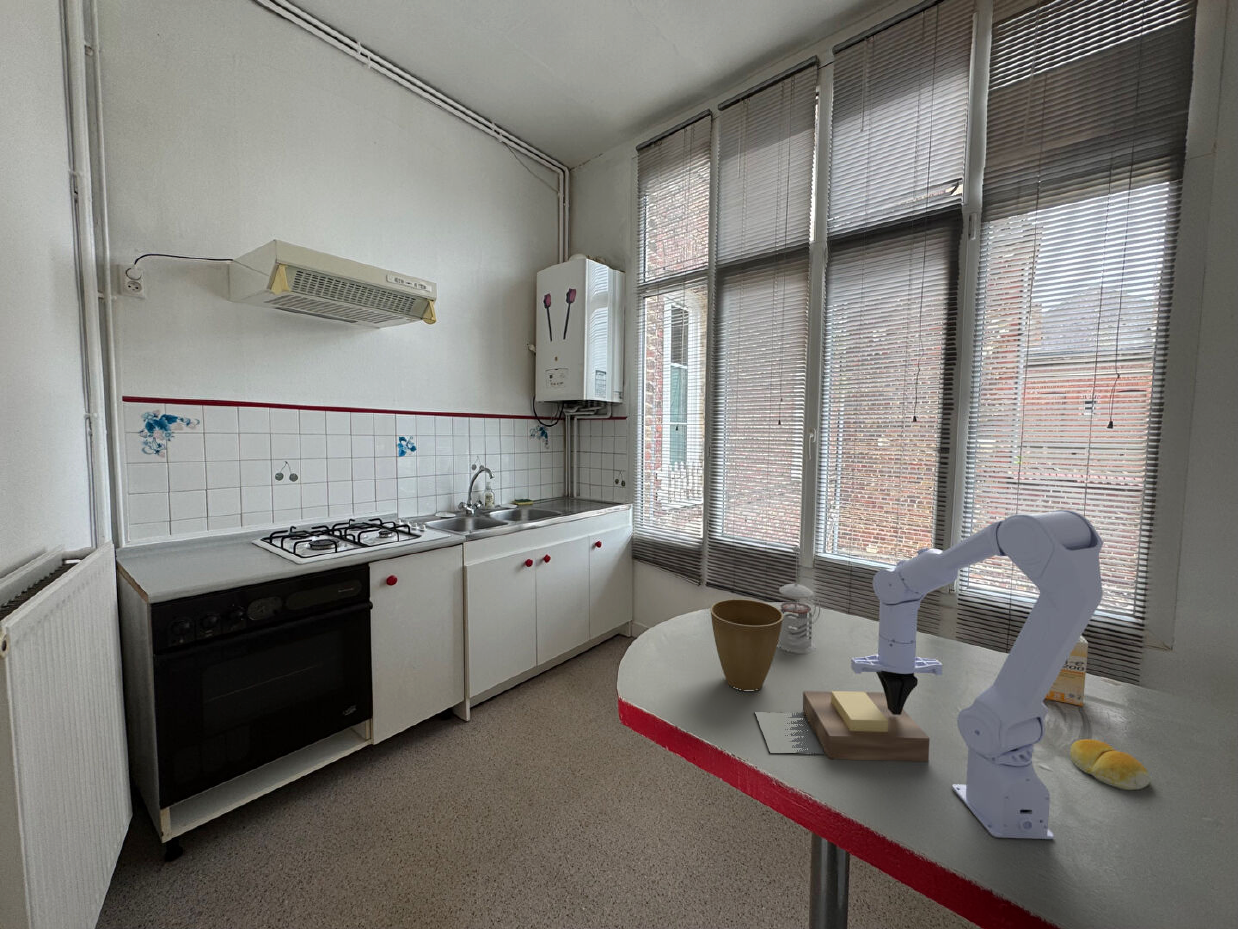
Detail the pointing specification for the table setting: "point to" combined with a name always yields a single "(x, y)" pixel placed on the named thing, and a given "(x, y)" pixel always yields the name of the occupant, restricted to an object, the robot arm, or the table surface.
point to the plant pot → (746, 640)
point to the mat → (808, 738)
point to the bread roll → (1109, 764)
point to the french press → (791, 637)
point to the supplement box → (1071, 677)
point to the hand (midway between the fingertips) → (894, 711)
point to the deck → (865, 732)
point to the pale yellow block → (859, 711)
